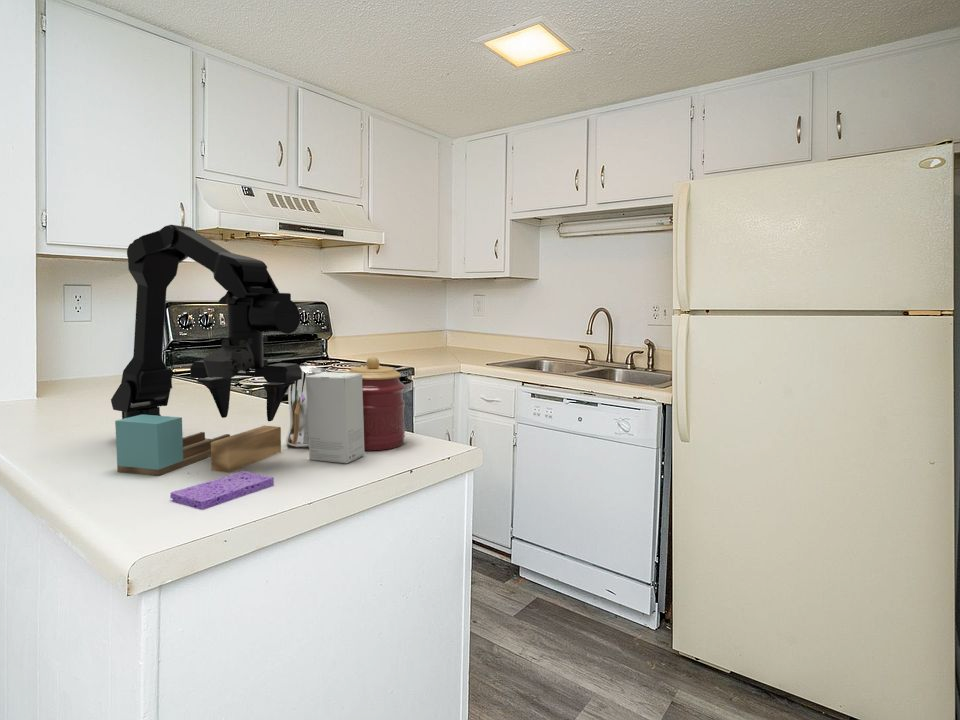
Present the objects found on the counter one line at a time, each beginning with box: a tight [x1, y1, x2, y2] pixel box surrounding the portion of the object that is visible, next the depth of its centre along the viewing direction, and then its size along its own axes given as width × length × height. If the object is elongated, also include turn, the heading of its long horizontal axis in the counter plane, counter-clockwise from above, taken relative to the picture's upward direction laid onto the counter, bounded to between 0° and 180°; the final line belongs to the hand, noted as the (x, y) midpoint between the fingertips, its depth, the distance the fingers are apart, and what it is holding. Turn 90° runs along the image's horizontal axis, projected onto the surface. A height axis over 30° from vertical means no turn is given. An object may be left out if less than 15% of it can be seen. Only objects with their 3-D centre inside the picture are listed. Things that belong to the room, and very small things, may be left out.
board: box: [117, 431, 231, 477], centre depth 103 cm, size 8×20×2 cm, turn 167°
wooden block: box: [210, 424, 282, 473], centre depth 103 cm, size 4×14×5 cm, turn 164°
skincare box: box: [306, 371, 366, 464], centre depth 105 cm, size 8×7×16 cm
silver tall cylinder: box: [285, 365, 327, 448], centre depth 114 cm, size 7×7×15 cm
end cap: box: [114, 414, 184, 470], centre depth 96 cm, size 8×6×8 cm
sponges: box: [169, 470, 275, 511], centre depth 86 cm, size 7×13×2 cm, turn 151°
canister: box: [346, 356, 406, 451], centre depth 116 cm, size 13×13×18 cm
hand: (247, 419), depth 102 cm, fingers open, 9 cm apart
